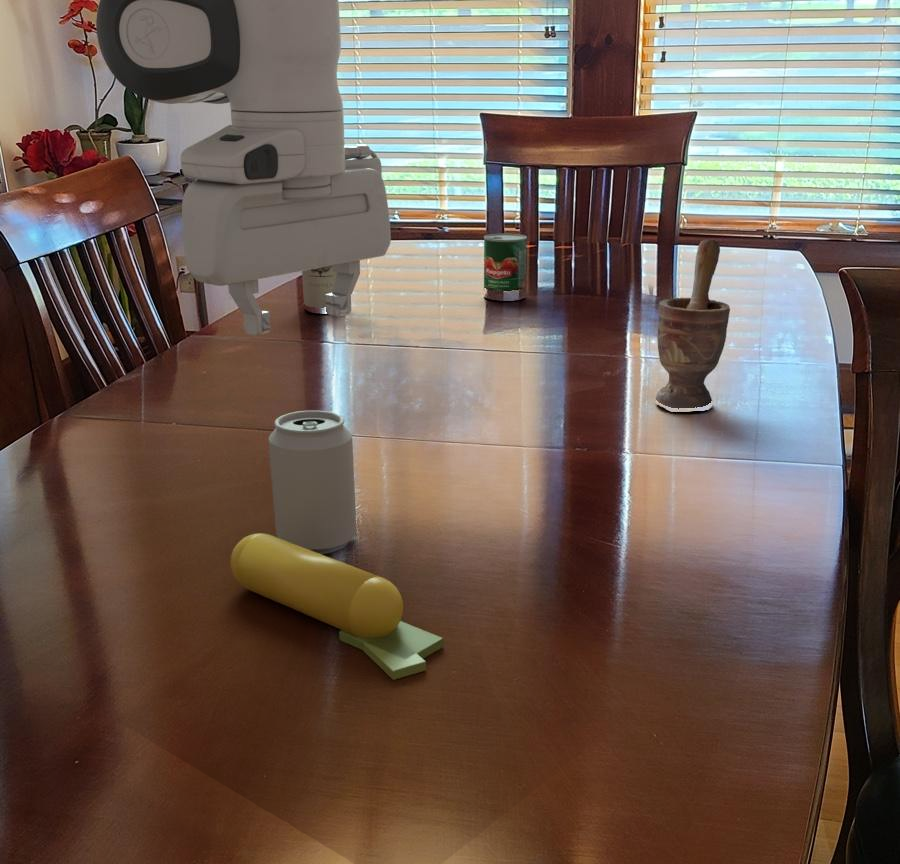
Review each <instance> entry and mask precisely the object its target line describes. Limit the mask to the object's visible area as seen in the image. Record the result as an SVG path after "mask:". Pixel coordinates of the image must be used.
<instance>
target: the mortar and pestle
mask: <svg viewBox="0 0 900 864" xmlns="http://www.w3.org/2000/svg"><path fill="white" fill-rule="evenodd" d="M720 252H721V245H720V243H719V242H718V241H717V240H716V239H710V238H706V239H703V240H701V241H700V243H699V244H698V246H697V250H696V255H695V262H694V275H693V276H694V277H693V278H694V279H693V285H692V292H691V296H690V297H675V298H666V299H662V300H660V301H659V305H658V324H657V336H656V337H657V351H658V359H659V362H660V365H661V366H662V367H663V368H664V370H665V371H666V372H667V373H668V382H667V383H666V385H665V386H664V387H661V388H660V389H659V390H658V392H657V393H656V396H655V399H656V400H657V401H658V402H659V403H661V404H663V405H665V406H668V407H671V408H678V409H679V408H695V407H696V408H697V407H703V406H706V405H708V404H709V403H711V401H713V399H712V395H711V393H710V391H709V389H708V388H707V386H706V385H705V380H706V378H707V377H708V375H709V374H711V372H713V371H714V370H715V369H716V368H717V366H718V364H719V361H720V359H721V356H722V354H723V350H724V348H725V343H726V340H727V330H728V325H729V318H730V313H731V307H730V305H729V304H728V303H726V302H723V301H717V300H716V299H710V298H709V297H710V296H709V293H710V289H711V285H712V280H713V276H714V275H715V272H716V269H717V267H718V262H719V258H720Z"/></svg>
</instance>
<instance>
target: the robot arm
mask: <svg viewBox="0 0 900 864" xmlns="http://www.w3.org/2000/svg"><path fill="white" fill-rule="evenodd" d="M95 18H96V19H95V20H96V21H95V25H96V26H95V29H96V38H97V43H98V47H99V50H100V53H101V56H102V59H103V61H104V62H105V65H106V66H107V68H108V69H109V71H110V73H111V74H112V75H113V76H114V78H115V79H116V80H117V81H118V82H119V83H120V84H121V85H122V86H123V87H124V88H126V90H128V91H130V92H131V93H132V94H134V95H136V96H139V97H140V98H144V99H147V100H149V101H152V102H155V103H159V104H166V105H175V104H194V103H204V104H205V103H206V104H214V105H223V104H229V105H230V106H229V107H230V119H231V124H229V125H226V126H224V127H223V128H221V129H219V130H218V131H216V132H215V133H213V134H211V135H209V136H207V137H205V138H203V139H202V140H200V141H198V142H195V143H194V144H192V145H189V146H188V147H186V148H185V149H184V150H183V151H182V152H181V153H180V167H181V172H182V174H183V176H184V177H185V178H187V179H189V180H193V181H192V182H191V183H189V184H188V186H187V187H186V188H185V192H184V194H183V197H182V204H181V229H182V242H183V243H182V244H183V245H182V246H183V252H184V260H185V266H186V269H187V271H188V272H189V273H190V275H191V276H192V278H194V280H195V281H197V282H199V283H202V284H207V285H213V286H218V287H219V286H220V287H224V286H228V287H227V289H228V293H229V295H230V297H231V298H232V299H233V301H234V303H235V304H236V306H237V308H238V309H239V310H240V311H239V312H240V313H241V312H242V324H243V331H244V332H245V333H246V335H250V336H255V337H256V336H260V335H264V334H268V333H270V332H271V330H272V325H271V312H270V311H267V310H262V309H261V307H260V305H259V303H258V301H257V299H256V297H255V295H254V294H258V293H259V292H260V289H259V280H262V279H266V278H272V277H277V276H282V275H283V276H284V275H288V274H293V273H294V274H295V273H298V272H299V273H300V272H302V271H305V270H310V269H316V268H321V267H327V266H332V271H333V272H337V275H336V278H335V282H334V285H333V289H332V293H329V294H325V301H326V303H327V305H326V312H327V314H329V315H328V316H332V317H333V316H334V317H342V316H346V315H347V316H348V315H350V314H351V313H352V294H353V292H354V290H355V287H356V285H357V282H358V280H359V277H360V274H361V261H363V260H369V259H374V258H380V257H384V256H385V255H386V254H387V252H388V250H389V247H390V245H391V241H392V236H391V235H392V233H391V232H392V231H391V221H390V213H389V211H390V210H389V204H388V203H389V202H388V197H387V196H388V195H387V191H386V186H385V183H384V179H383V175H382V174H383V171H382V170H383V169H382V168H383V167H382V162H381V159H380V158H379V157H378V156H377V154H376V153H375V151H374V150H372V149H371V148H370V146H369V145H367V144H362V143H360V144H355V145H345V143H346V142H345V124H344V123H345V122H344V121H345V120H344V117H345V116H344V104H343V103H344V102H343V100H342V95H341V92H340V88H339V83H338V65H339V60H340V55H341V51H342V50H341V49H342V36H341V19H340V4H339V0H99V2H98V6H97V11H96V17H95Z"/></svg>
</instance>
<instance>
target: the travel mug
mask: <svg viewBox="0 0 900 864" xmlns="http://www.w3.org/2000/svg"><path fill="white" fill-rule="evenodd" d="M336 275H337V272H333V271H332V266H327V267H321V268H316V269H310V270H305V271H301V278H302V292H303V293H302V295H303V305H304V304H305V305H306V306H309V307H315V308H324V307H326V305H327V303H326V301H325V294H329V293H332V289H333V285H334V282H335V278H336Z"/></svg>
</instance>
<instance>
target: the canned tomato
mask: <svg viewBox="0 0 900 864" xmlns="http://www.w3.org/2000/svg"><path fill="white" fill-rule="evenodd" d="M527 241H528V238H527V235H525V234H518V233H491V234H486V235H483V289H484V288H486V289H490V290H497V291H512V290H519V289H522V288H524V287H526V284H527V283H526V280H527V277H526V276H527V249H528V248H527V247H528V245H527Z"/></svg>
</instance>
